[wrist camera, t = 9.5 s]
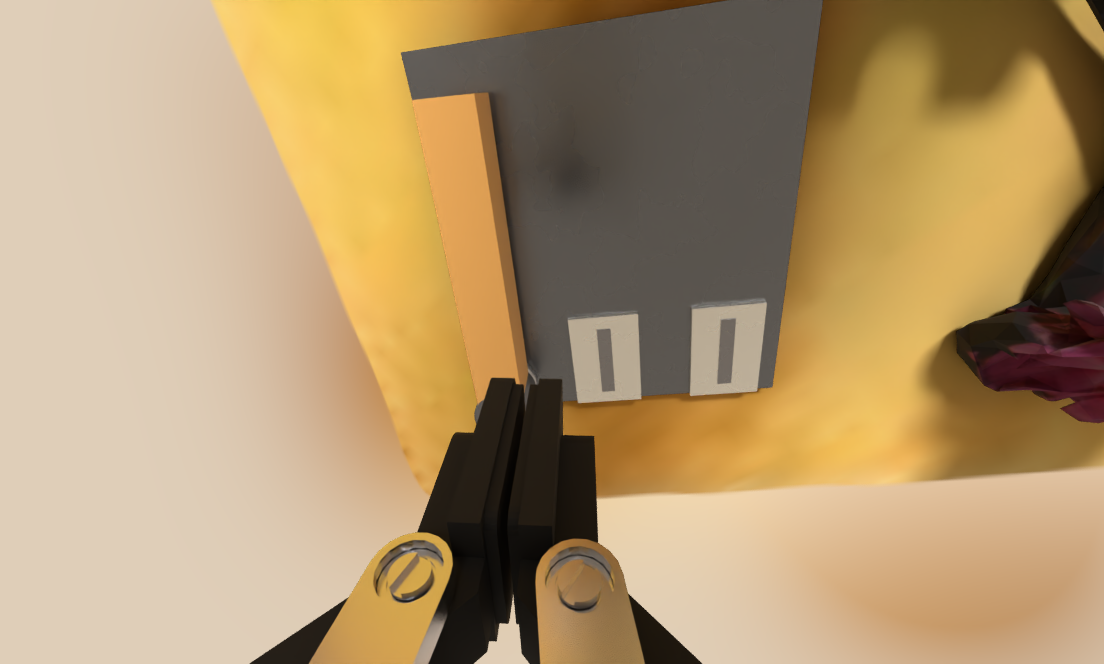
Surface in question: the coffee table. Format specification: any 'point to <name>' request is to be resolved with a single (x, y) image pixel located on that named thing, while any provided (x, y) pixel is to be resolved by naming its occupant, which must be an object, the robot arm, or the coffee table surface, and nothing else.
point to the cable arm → (474, 234)
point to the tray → (647, 188)
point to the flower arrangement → (1052, 325)
